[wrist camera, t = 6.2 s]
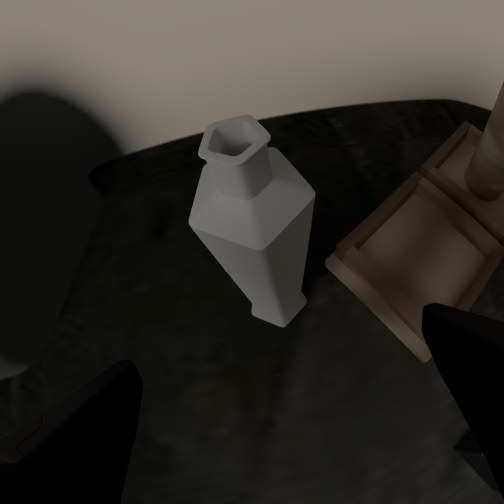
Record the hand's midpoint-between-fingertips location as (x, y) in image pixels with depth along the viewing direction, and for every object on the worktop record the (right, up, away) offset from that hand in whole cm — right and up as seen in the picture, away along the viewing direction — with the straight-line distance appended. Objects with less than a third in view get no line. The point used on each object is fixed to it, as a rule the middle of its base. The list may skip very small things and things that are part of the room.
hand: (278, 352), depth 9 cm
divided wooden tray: (+16, +5, +14) cm, 21 cm away
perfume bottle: (+1, 0, +14) cm, 14 cm away
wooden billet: (+20, +9, +14) cm, 26 cm away
